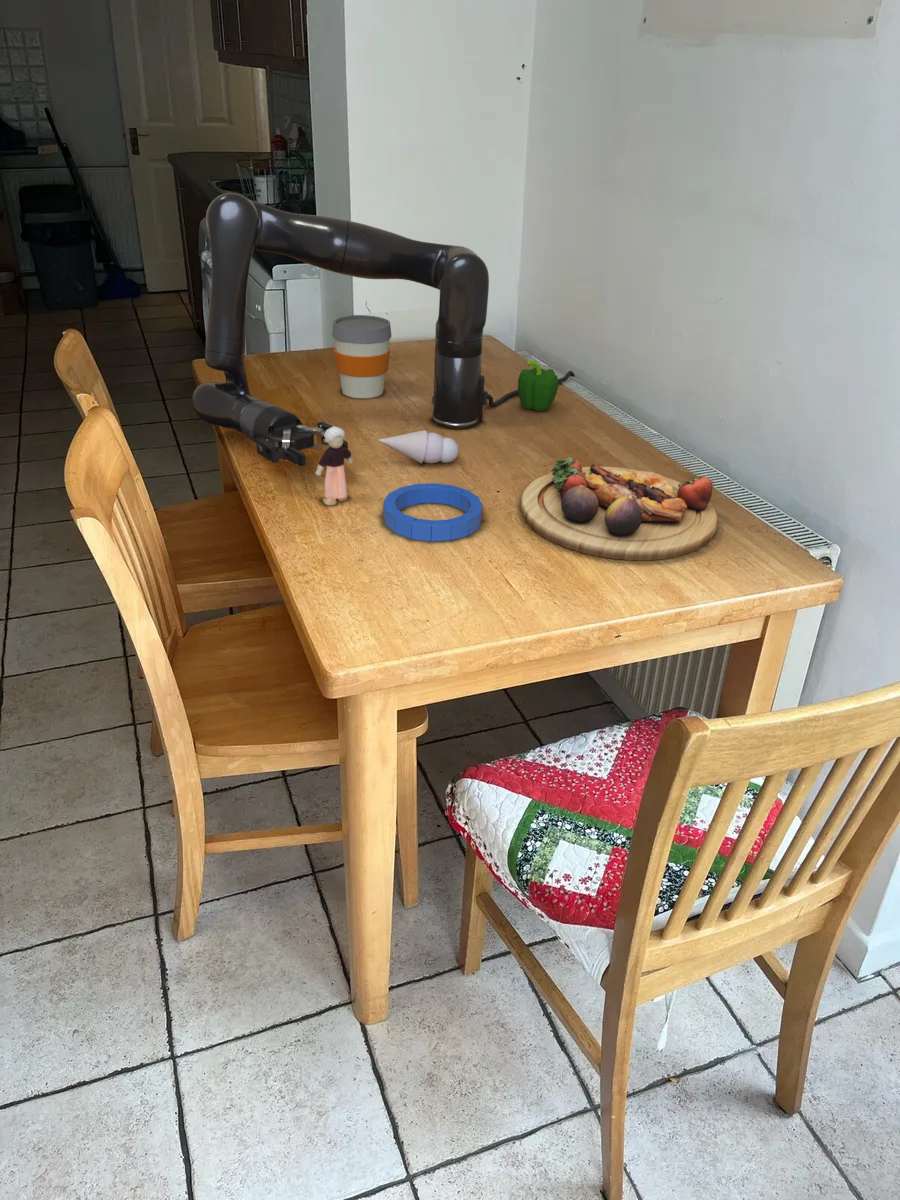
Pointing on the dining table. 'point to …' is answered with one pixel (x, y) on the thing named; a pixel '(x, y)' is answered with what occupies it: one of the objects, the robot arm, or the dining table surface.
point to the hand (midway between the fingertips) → (325, 454)
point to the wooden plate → (620, 511)
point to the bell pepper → (537, 387)
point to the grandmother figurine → (334, 466)
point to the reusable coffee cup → (362, 354)
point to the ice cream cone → (424, 446)
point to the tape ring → (432, 528)
